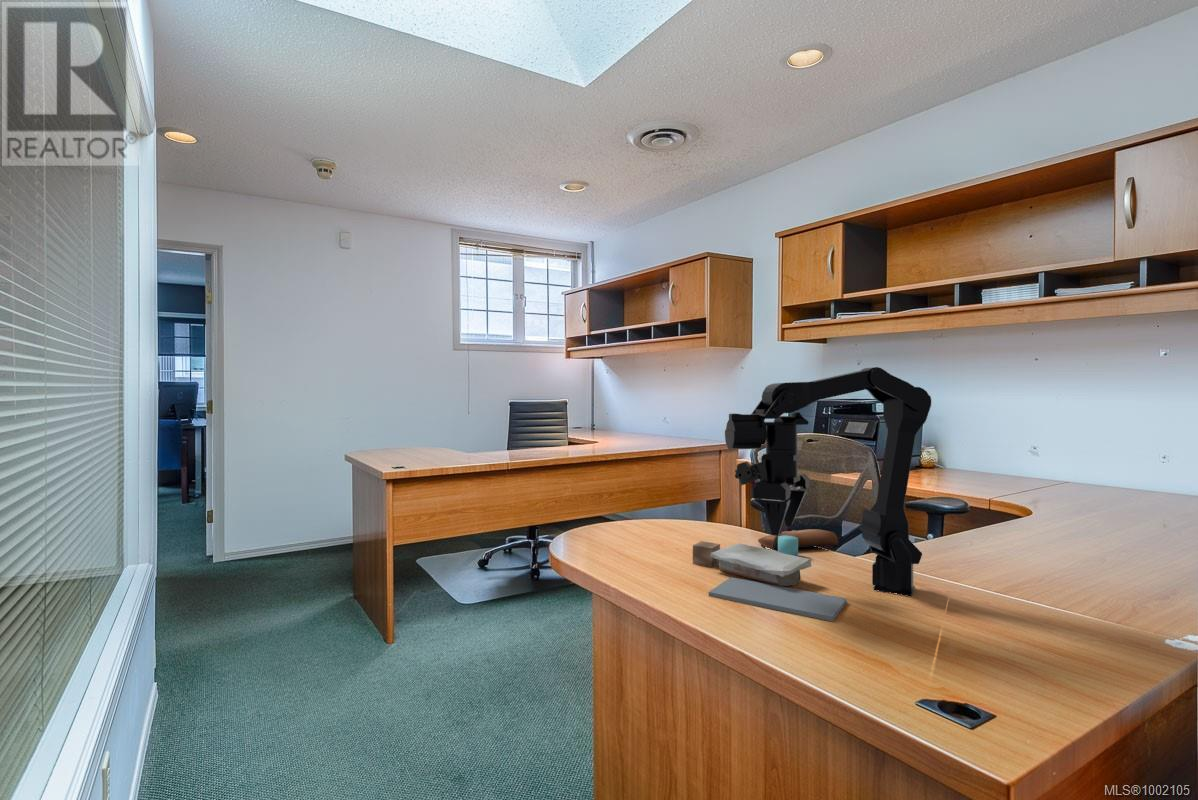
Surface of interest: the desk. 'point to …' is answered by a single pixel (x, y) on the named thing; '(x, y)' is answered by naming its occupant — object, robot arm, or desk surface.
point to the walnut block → (704, 553)
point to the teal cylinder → (788, 545)
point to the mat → (780, 598)
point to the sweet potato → (803, 538)
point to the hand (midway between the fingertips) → (782, 530)
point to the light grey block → (761, 564)
